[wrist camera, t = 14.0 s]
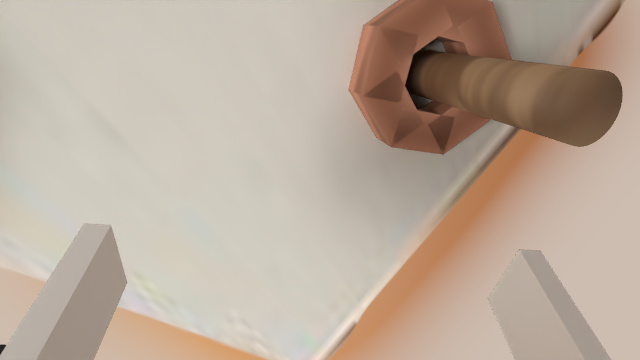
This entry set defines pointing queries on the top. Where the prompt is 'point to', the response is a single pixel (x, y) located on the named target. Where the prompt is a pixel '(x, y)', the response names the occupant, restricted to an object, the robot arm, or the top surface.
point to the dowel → (521, 93)
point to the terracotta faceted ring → (394, 62)
